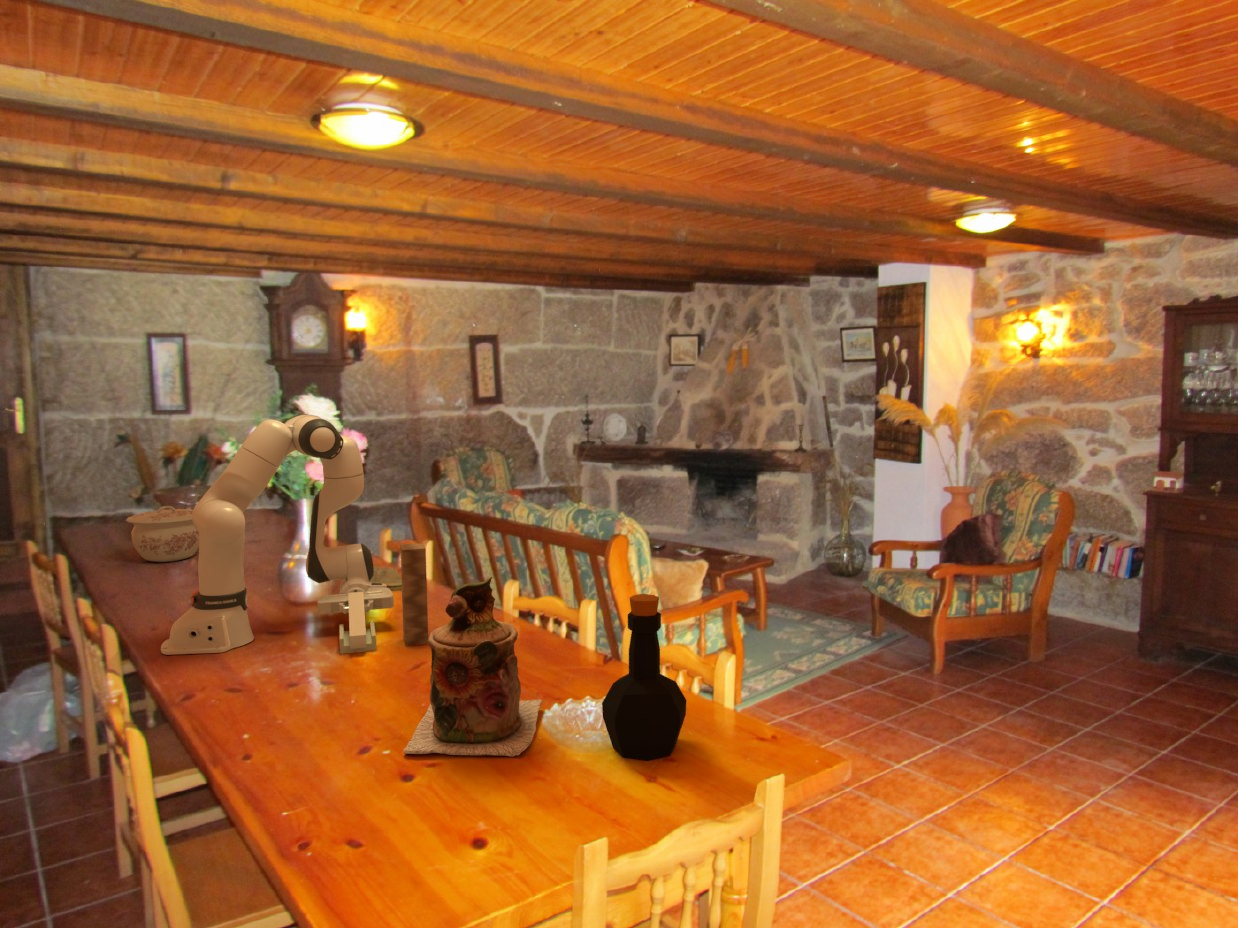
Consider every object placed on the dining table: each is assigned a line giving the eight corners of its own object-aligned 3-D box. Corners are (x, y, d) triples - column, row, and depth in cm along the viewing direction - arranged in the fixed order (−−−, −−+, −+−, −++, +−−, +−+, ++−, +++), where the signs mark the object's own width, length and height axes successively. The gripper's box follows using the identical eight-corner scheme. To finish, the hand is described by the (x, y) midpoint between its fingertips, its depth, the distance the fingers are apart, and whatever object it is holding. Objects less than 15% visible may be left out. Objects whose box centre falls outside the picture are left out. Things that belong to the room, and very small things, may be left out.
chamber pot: (111, 565, 323) (107, 511, 321) (161, 550, 350) (158, 499, 347) (179, 568, 318) (175, 512, 316) (225, 552, 345) (222, 500, 343)
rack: (340, 653, 223) (339, 638, 223) (340, 638, 236) (339, 624, 235) (376, 650, 226) (375, 635, 226) (374, 635, 238) (373, 621, 238)
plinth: (405, 646, 229) (402, 549, 226) (403, 638, 236) (400, 544, 233) (428, 643, 231) (425, 548, 228) (426, 636, 238) (423, 543, 235)
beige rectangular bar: (350, 648, 223) (349, 636, 221) (348, 605, 240) (348, 592, 238) (366, 647, 224) (365, 634, 222) (363, 603, 241) (363, 591, 239)
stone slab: (391, 562, 314) (408, 578, 287) (392, 574, 314) (408, 590, 287) (356, 565, 309) (369, 581, 282) (357, 577, 309) (370, 594, 282)
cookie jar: (431, 707, 189) (426, 563, 185) (543, 708, 188) (541, 564, 184) (400, 758, 164) (394, 594, 161) (529, 759, 164) (526, 594, 160)
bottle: (600, 731, 176) (599, 587, 172) (680, 728, 177) (680, 585, 174) (604, 767, 160) (603, 609, 157) (692, 764, 161) (693, 607, 158)
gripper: (316, 589, 244) (315, 601, 231) (391, 583, 250) (394, 595, 237) (317, 610, 245) (316, 624, 232) (392, 604, 251) (395, 617, 238)
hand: (356, 609), depth 234 cm, fingers closed on beige rectangular bar, 4 cm apart
